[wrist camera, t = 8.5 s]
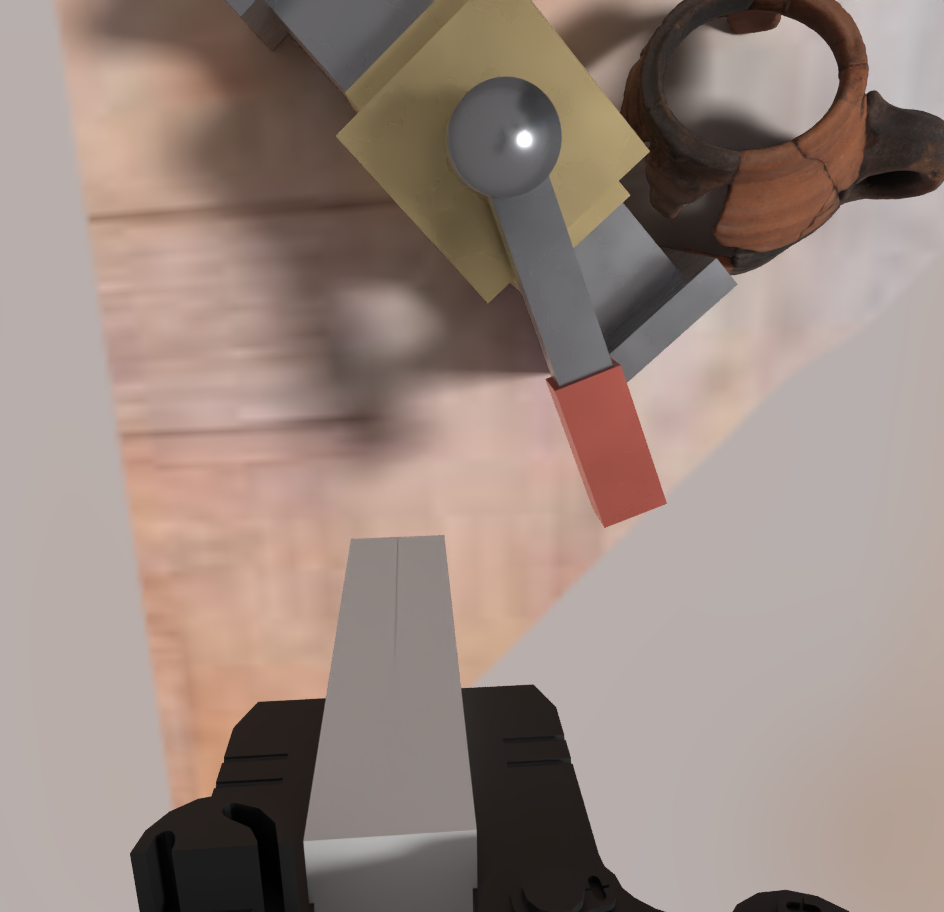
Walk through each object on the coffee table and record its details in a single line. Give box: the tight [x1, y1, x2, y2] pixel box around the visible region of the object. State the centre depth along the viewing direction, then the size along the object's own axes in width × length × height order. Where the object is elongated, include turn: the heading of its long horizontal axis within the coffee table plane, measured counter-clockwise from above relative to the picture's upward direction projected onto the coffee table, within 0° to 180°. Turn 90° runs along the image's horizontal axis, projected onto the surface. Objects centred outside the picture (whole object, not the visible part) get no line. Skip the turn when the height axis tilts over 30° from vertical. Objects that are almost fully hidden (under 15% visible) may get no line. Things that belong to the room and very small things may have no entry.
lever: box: [445, 76, 666, 528], centre depth 26 cm, size 14×3×2 cm, turn 21°
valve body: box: [226, 0, 737, 383], centre depth 29 cm, size 7×18×7 cm, turn 43°
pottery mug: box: [620, 0, 944, 275], centre depth 31 cm, size 12×10×8 cm
